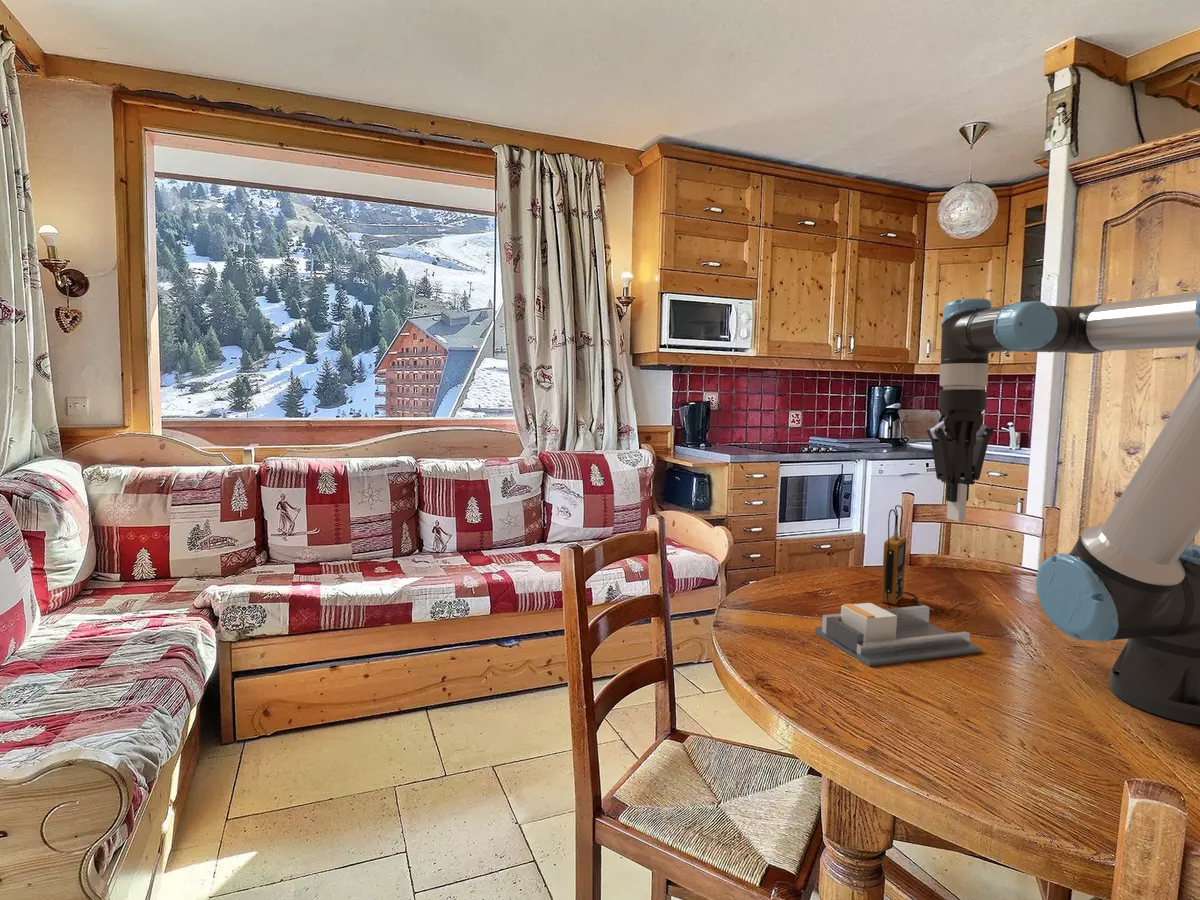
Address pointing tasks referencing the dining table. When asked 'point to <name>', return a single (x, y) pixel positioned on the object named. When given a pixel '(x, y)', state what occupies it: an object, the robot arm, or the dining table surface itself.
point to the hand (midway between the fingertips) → (955, 519)
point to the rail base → (898, 639)
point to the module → (870, 621)
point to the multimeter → (894, 565)
